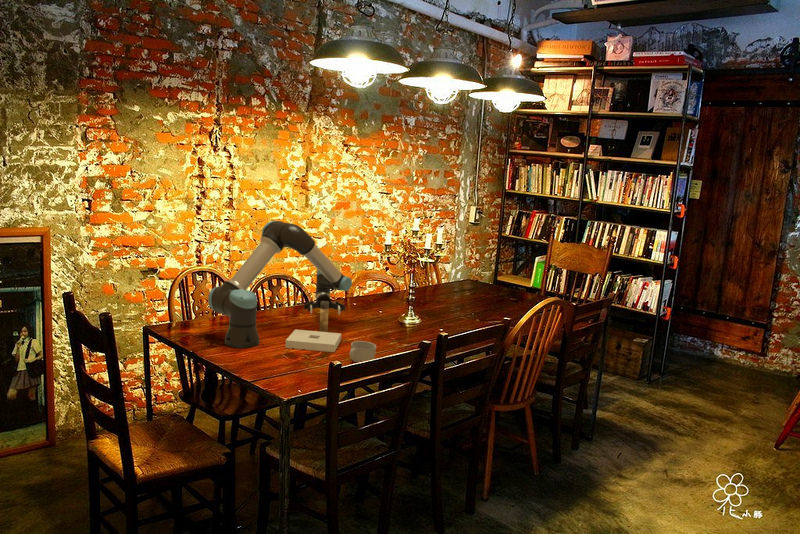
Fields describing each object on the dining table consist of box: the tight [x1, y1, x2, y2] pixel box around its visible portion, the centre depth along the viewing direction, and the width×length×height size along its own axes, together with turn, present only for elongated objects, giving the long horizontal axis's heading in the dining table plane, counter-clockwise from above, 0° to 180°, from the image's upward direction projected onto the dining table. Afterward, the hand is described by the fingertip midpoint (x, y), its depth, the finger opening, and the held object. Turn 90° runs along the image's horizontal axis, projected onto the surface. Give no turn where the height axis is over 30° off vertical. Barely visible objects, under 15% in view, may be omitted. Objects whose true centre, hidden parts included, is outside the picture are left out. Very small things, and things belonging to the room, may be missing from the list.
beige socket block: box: [284, 329, 342, 353], centre depth 287 cm, size 22×18×4 cm
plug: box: [318, 301, 330, 332], centre depth 302 cm, size 4×4×16 cm
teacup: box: [349, 340, 377, 363], centre depth 265 cm, size 14×11×8 cm
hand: (325, 311), depth 303 cm, fingers open, 13 cm apart
